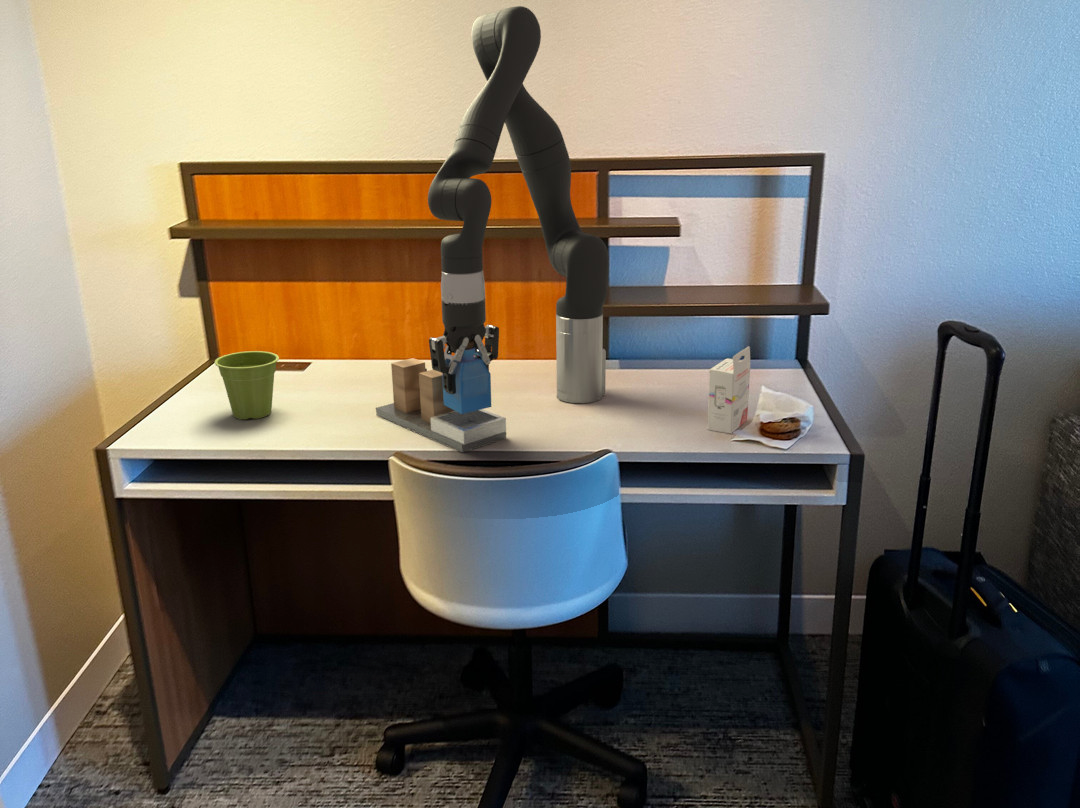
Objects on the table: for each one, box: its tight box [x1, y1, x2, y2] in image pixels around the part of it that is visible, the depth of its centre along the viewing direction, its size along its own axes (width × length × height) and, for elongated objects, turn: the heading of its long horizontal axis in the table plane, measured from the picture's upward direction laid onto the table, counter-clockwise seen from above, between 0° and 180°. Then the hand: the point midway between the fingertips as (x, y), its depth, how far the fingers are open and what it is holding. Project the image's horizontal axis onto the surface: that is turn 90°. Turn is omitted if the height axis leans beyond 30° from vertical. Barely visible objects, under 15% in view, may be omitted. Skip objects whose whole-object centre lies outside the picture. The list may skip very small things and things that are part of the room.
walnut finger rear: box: [390, 357, 428, 413], centre depth 182 cm, size 6×4×9 cm
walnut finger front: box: [419, 369, 455, 423], centre depth 176 cm, size 6×4×9 cm
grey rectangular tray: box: [375, 402, 507, 454], centre depth 177 cm, size 10×27×4 cm, turn 42°
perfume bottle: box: [442, 341, 492, 414], centre depth 168 cm, size 6×6×12 cm
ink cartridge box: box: [706, 345, 751, 434], centre depth 174 cm, size 9×5×15 cm, turn 148°
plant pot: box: [214, 350, 280, 420], centre depth 184 cm, size 12×12×11 cm
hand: (466, 388), depth 169 cm, fingers closed on perfume bottle, 6 cm apart
